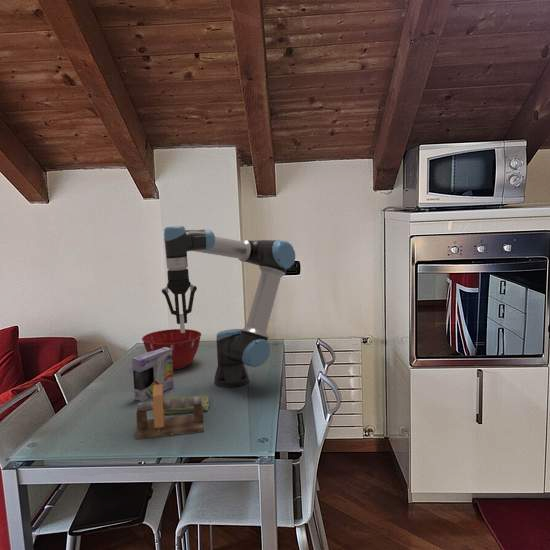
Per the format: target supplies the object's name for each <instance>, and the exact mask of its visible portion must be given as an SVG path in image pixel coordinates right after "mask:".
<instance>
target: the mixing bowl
mask: <svg viewBox="0 0 550 550" xmlns="http://www.w3.org/2000/svg"><path fill="white" fill-rule="evenodd" d="M201 336H202V333H201V332H200V331H198V330H195V329H189V328H188V329H186V328H185V333H181V331H180V328H173V329H171V328H170V329H163V330H158V331H157V330H156V331H153V332H150V333H148V334H145V335H143V336H142V338H141V341H142V342H143V345H144V347H145V350H146V353H148V352H151V351H155V350H158V349H161V348H163V347H167V348H171V349H172V364H173V371H175V370H176V369H177V370H180V369H184V368H186V367H188V366H189V365H190V364H191V363H192V362H193V361H194V358H195V357H196V354H197V352H198V349H199V345H200V343H201V342H200V340H201Z"/></svg>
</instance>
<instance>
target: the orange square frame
mask: <svg viewBox="0 0 550 550" xmlns="http://www.w3.org/2000/svg"><path fill="white" fill-rule="evenodd" d="M163 400H165V399H164V392H163V384H158V385H154V388H153V397H152V401H153V411H152V412H153V419H154V428H158V427H164V418H165V415H164V409H163Z"/></svg>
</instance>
